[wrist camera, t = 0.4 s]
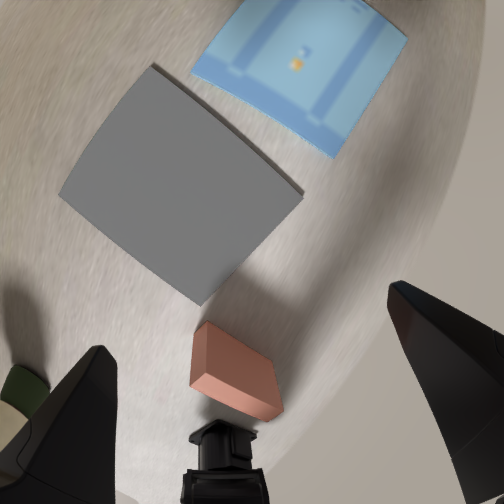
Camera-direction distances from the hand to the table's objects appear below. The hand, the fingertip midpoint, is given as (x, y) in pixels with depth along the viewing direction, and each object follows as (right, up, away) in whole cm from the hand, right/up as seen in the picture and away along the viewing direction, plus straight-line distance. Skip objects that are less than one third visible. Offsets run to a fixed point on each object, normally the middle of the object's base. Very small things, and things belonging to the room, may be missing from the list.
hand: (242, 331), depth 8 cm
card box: (-1, -7, +18) cm, 20 cm away
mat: (-5, +7, +12) cm, 15 cm away
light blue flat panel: (+5, +17, +10) cm, 21 cm away
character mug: (-28, -14, +18) cm, 36 cm away
